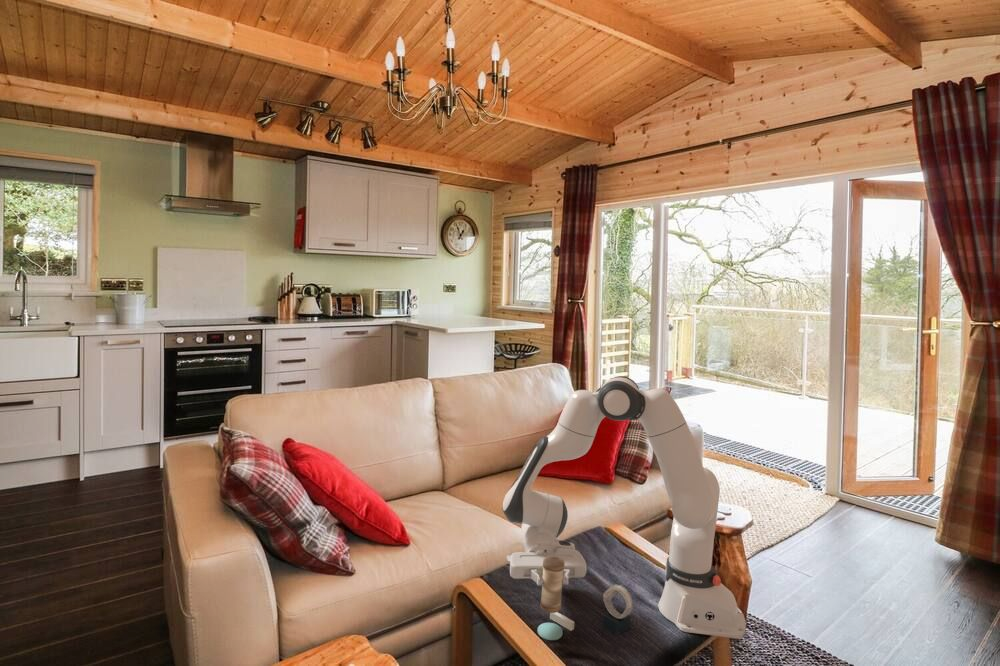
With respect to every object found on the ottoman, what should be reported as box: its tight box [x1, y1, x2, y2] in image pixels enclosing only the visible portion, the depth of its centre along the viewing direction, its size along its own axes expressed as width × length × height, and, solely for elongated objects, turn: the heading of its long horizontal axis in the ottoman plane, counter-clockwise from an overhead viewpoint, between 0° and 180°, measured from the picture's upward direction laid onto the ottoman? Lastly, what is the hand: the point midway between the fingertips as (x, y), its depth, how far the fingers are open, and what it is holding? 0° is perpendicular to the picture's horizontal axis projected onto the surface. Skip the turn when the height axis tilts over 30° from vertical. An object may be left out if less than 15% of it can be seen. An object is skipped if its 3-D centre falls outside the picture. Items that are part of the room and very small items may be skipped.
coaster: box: [537, 622, 564, 641], centre depth 145 cm, size 6×6×1 cm
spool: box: [539, 557, 565, 614], centre depth 144 cm, size 5×5×12 cm
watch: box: [602, 583, 634, 636], centre depth 148 cm, size 6×8×11 cm
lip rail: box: [549, 611, 575, 632], centre depth 149 cm, size 7×1×2 cm, turn 47°
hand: (553, 582), depth 143 cm, fingers closed on spool, 5 cm apart
